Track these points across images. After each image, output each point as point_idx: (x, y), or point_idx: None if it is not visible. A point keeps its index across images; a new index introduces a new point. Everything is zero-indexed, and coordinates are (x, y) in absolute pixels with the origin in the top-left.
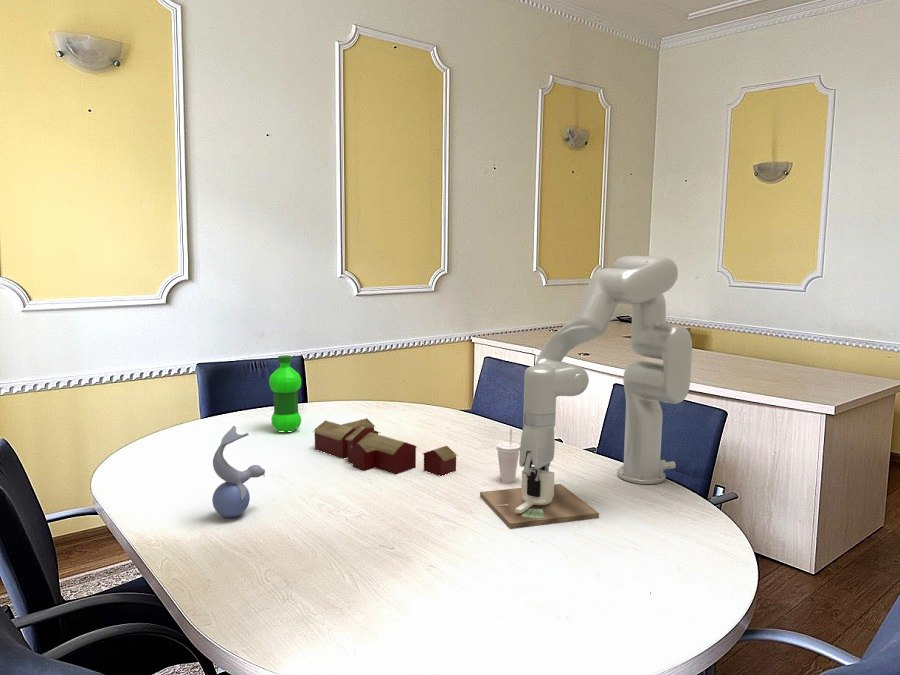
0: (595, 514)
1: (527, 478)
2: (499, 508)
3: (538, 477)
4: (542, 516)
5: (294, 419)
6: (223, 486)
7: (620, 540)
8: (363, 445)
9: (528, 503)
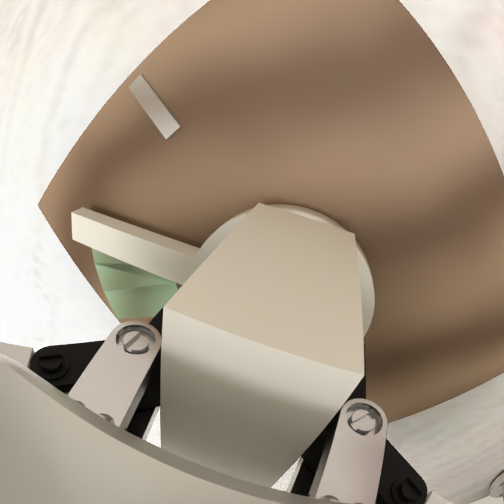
0: None
1: (119, 333)
2: (123, 106)
3: (145, 414)
4: (124, 312)
5: None
6: None
7: (152, 439)
8: None
9: (148, 264)
